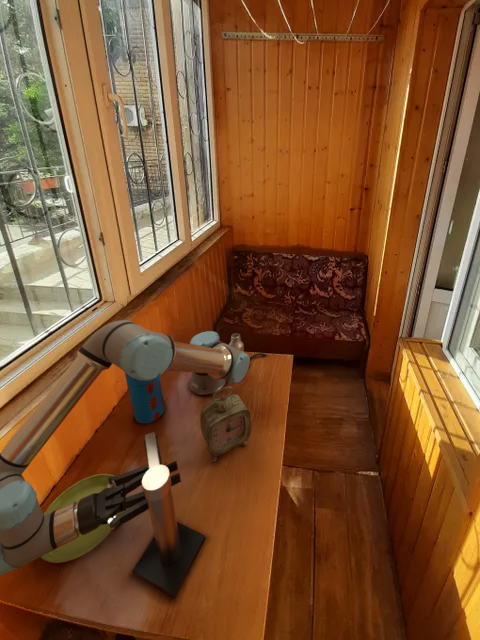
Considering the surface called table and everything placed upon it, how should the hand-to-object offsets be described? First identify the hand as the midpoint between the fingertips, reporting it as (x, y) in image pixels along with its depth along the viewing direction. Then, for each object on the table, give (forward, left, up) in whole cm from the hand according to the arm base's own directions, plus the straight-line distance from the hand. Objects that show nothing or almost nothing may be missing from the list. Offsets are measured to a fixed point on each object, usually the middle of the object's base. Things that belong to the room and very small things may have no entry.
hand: (178, 471), depth 87 cm
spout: (+7, +5, -4) cm, 10 cm away
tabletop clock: (-18, -3, -10) cm, 21 cm away
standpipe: (+9, +11, -10) cm, 17 cm away
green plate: (+21, -13, -10) cm, 27 cm away
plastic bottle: (-43, -28, -10) cm, 52 cm away
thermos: (-7, -36, -10) cm, 38 cm away
